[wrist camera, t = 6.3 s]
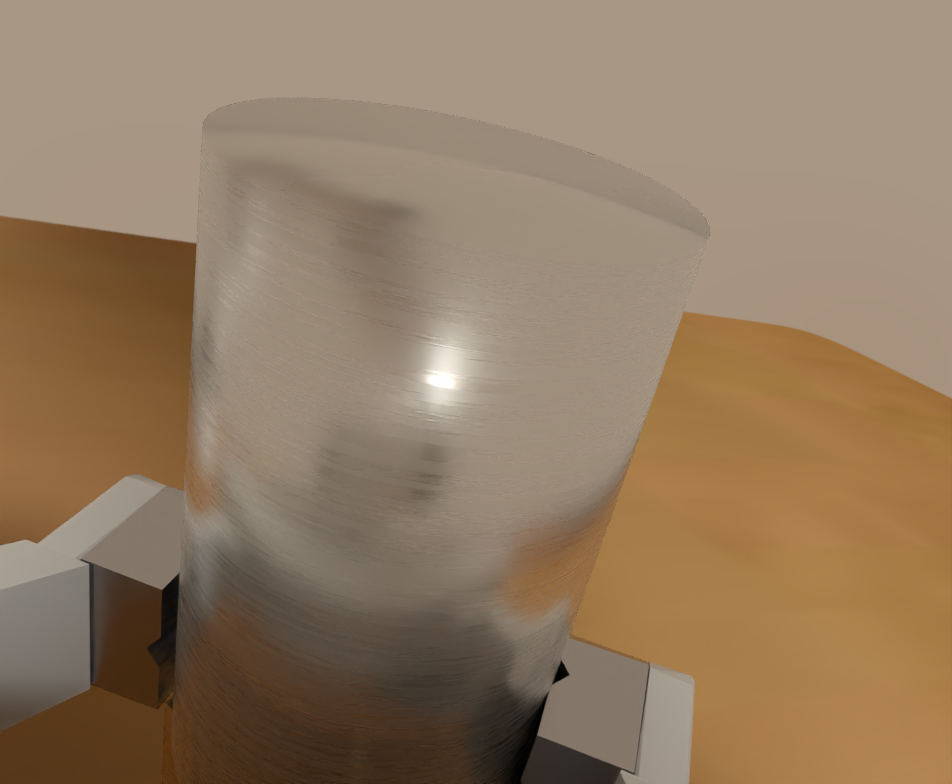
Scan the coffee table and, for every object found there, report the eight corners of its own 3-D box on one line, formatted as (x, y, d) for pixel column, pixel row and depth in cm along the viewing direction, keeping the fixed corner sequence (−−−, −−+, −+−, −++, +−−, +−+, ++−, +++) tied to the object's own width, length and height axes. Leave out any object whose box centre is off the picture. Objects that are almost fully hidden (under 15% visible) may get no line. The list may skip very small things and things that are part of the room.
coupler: (101, 1037, 13) (95, 92, 6) (309, 866, 16) (450, 101, 9) (260, 1300, 11) (493, 303, 4) (465, 1047, 14) (790, 227, 7)
